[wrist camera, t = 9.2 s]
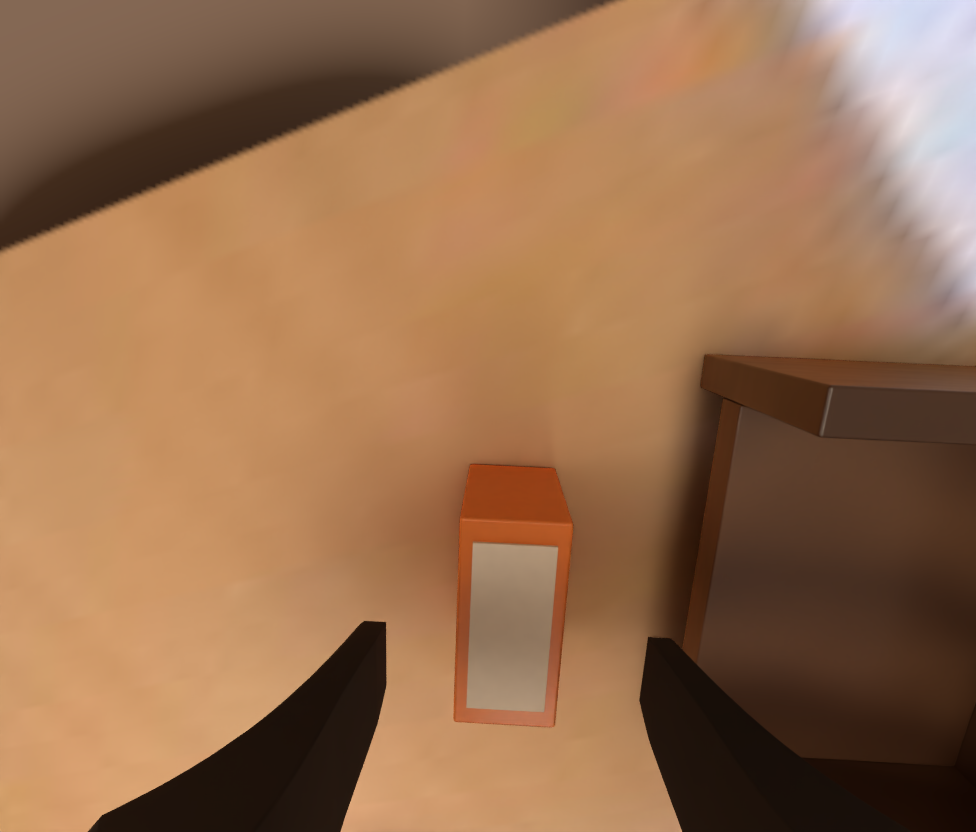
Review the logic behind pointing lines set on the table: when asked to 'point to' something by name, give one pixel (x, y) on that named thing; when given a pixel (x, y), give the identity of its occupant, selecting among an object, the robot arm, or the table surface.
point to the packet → (511, 596)
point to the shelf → (847, 573)
